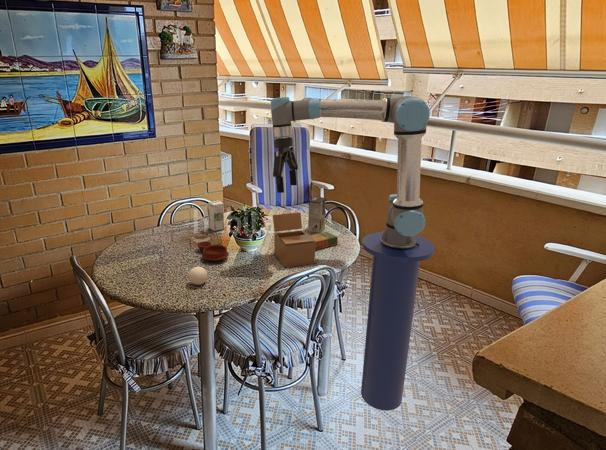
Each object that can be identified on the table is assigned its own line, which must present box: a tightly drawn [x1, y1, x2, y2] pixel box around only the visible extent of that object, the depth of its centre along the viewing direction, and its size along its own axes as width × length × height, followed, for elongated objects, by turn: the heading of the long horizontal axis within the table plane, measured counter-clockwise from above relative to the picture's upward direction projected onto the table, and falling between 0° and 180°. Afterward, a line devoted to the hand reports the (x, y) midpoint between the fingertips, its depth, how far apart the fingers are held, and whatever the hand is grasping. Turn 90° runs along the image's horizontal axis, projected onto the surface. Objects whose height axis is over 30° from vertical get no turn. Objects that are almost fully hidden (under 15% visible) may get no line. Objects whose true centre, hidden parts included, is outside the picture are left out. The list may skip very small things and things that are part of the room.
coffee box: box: [307, 195, 327, 234], centre depth 207 cm, size 9×6×16 cm
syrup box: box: [207, 200, 225, 232], centre depth 210 cm, size 6×6×14 cm
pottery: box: [196, 241, 230, 263], centre depth 180 cm, size 12×20×4 cm, turn 32°
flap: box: [272, 212, 303, 233], centre depth 180 cm, size 7×13×1 cm
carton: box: [310, 231, 339, 251], centre depth 189 cm, size 8×16×4 cm, turn 121°
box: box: [273, 229, 316, 268], centre depth 175 cm, size 15×13×10 cm
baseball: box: [188, 266, 209, 286], centre depth 155 cm, size 7×7×7 cm
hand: (287, 188), depth 170 cm, fingers open, 13 cm apart
